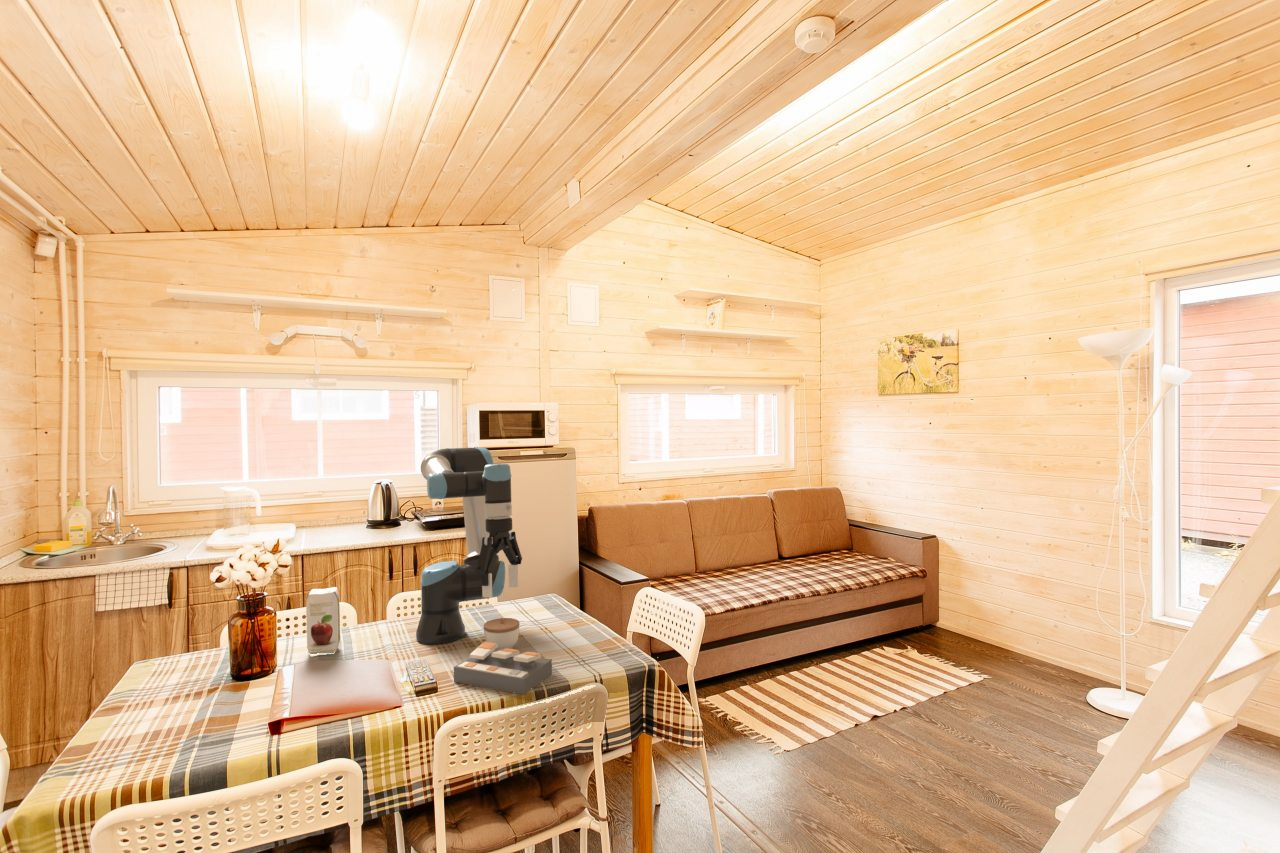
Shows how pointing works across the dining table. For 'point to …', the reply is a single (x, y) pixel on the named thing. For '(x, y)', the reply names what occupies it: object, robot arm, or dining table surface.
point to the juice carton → (323, 620)
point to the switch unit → (503, 673)
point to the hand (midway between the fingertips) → (501, 592)
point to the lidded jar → (502, 632)
